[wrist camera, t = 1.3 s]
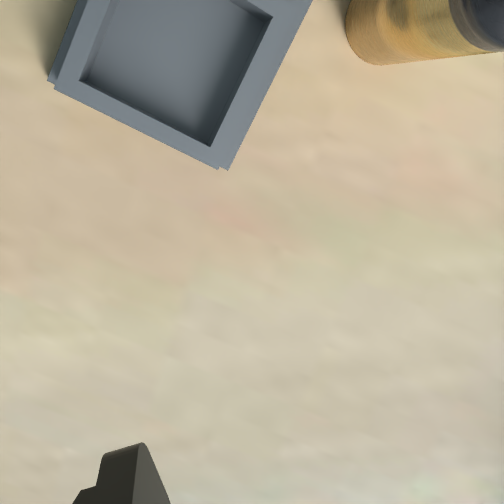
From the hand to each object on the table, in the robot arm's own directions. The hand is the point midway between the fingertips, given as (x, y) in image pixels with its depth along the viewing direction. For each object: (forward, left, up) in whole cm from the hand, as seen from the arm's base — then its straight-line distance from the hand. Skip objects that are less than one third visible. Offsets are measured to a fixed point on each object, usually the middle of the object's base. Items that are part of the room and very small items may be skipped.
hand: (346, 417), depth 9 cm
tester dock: (+10, +6, -24) cm, 27 cm away
